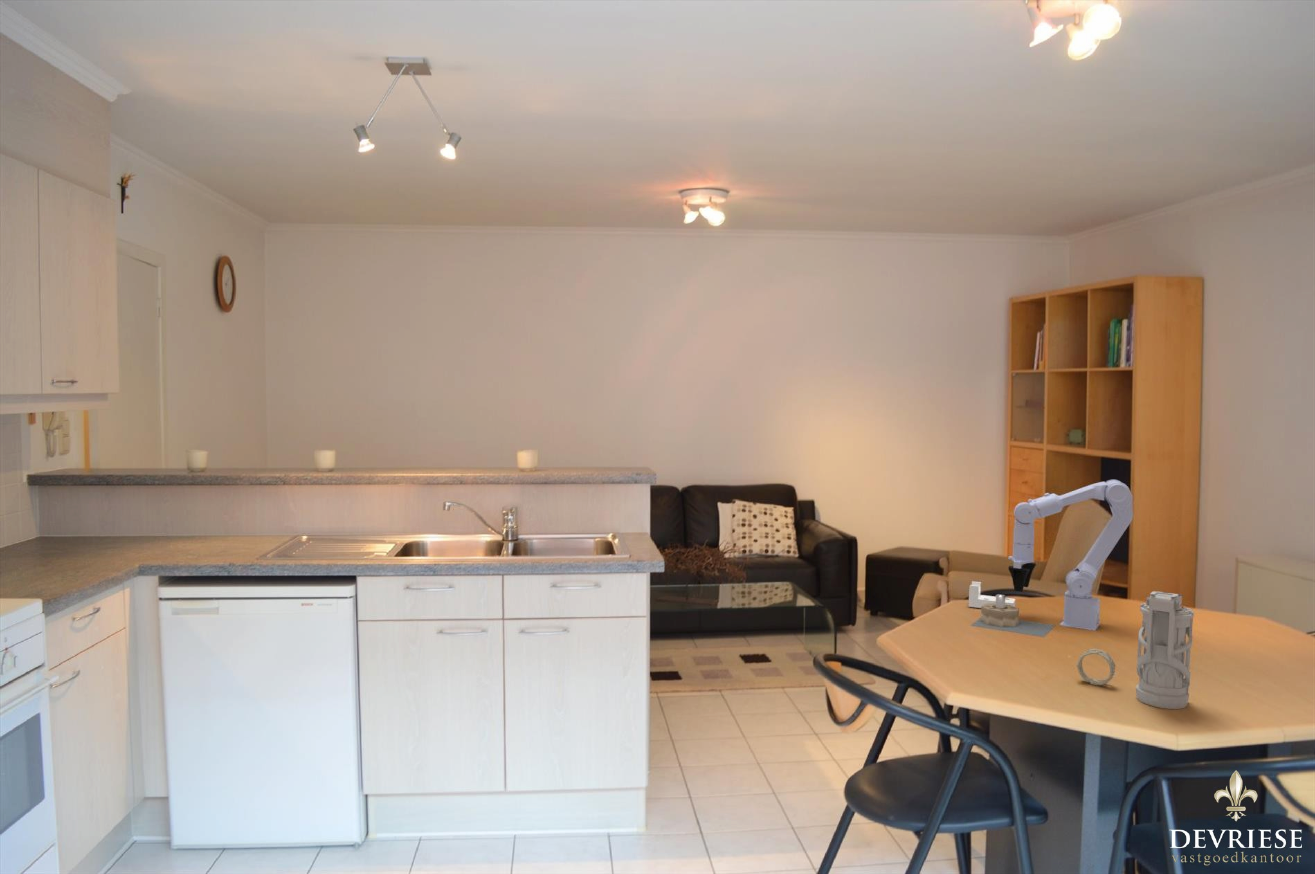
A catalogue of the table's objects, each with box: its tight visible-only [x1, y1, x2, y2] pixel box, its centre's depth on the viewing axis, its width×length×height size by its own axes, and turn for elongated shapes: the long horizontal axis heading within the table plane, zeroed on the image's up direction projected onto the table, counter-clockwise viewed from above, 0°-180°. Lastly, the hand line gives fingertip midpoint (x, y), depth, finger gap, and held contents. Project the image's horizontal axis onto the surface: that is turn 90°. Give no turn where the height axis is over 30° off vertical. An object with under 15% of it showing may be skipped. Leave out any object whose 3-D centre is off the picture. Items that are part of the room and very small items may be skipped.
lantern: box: [1135, 590, 1195, 710], centre depth 207 cm, size 13×10×25 cm
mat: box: [970, 617, 1056, 638], centre depth 272 cm, size 20×16×1 cm
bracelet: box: [1076, 648, 1116, 686], centre depth 220 cm, size 4×8×8 cm, turn 54°
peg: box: [995, 594, 1006, 609], centre depth 275 cm, size 3×3×8 cm
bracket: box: [968, 580, 1016, 609], centre depth 293 cm, size 13×7×8 cm, turn 65°
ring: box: [980, 603, 1020, 627], centre depth 275 cm, size 10×10×4 cm
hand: (1021, 588), depth 279 cm, fingers open, 7 cm apart
